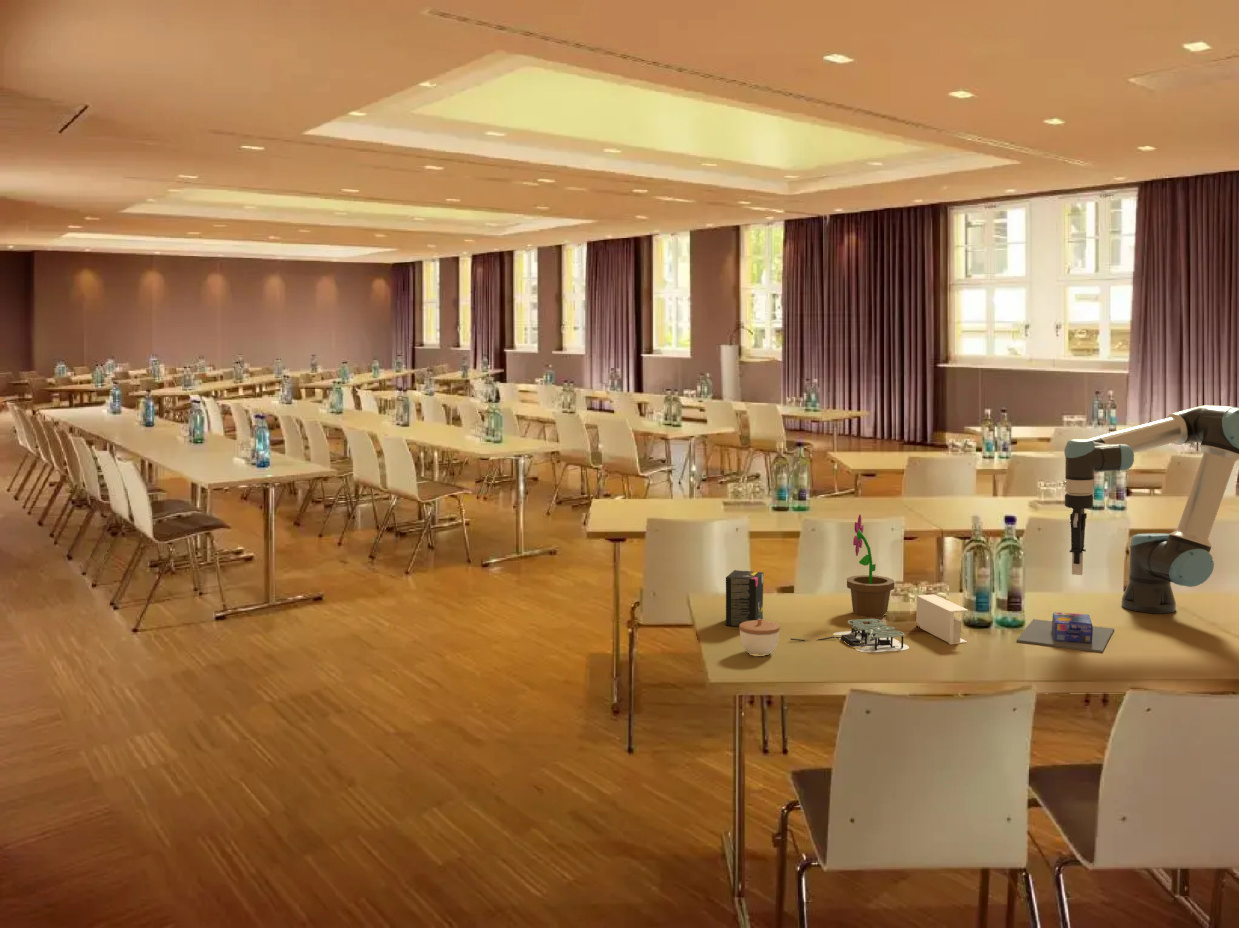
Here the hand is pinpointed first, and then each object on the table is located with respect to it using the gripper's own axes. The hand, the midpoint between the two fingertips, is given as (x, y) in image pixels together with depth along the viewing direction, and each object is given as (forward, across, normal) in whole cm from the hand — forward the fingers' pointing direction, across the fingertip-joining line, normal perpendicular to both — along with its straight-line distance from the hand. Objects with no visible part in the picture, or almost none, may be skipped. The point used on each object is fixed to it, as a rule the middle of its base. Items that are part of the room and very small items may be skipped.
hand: (1077, 574), depth 330 cm
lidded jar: (+13, +70, -70) cm, 99 cm away
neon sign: (+14, +49, -52) cm, 73 cm away
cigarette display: (+15, +28, -32) cm, 45 cm away
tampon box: (+13, +42, -86) cm, 97 cm away
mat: (+15, +13, -1) cm, 20 cm away
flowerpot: (+14, +15, -57) cm, 60 cm away
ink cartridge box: (+12, +9, 0) cm, 15 cm away
